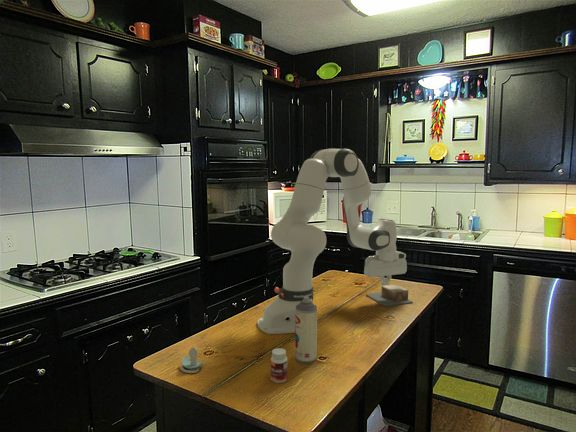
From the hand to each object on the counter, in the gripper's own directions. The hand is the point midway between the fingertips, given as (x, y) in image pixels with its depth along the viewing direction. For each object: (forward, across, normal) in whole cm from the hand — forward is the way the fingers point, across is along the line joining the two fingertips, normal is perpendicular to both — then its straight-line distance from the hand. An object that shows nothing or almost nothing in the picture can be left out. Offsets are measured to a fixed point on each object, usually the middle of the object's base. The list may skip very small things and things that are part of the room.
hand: (385, 284), depth 186 cm
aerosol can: (+7, -55, -40) cm, 68 cm away
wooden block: (+4, +1, 0) cm, 4 cm away
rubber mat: (+7, +2, 0) cm, 7 cm away
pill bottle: (+7, -67, -49) cm, 83 cm away
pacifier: (+7, -90, -34) cm, 96 cm away
